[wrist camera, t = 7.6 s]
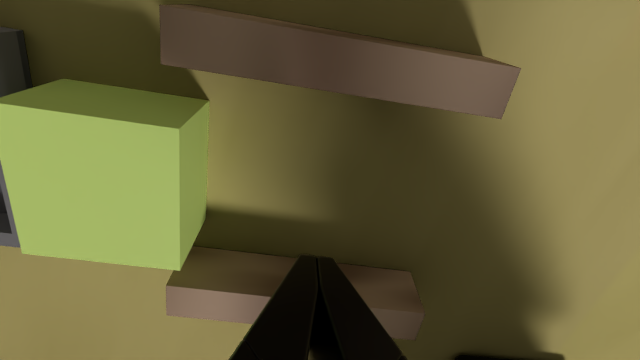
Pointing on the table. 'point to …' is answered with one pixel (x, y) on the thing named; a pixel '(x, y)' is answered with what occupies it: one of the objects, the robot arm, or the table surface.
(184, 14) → the lane rails
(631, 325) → the table surface
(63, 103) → the lime block
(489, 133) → the table surface
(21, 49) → the trap pit
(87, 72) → the table surface
